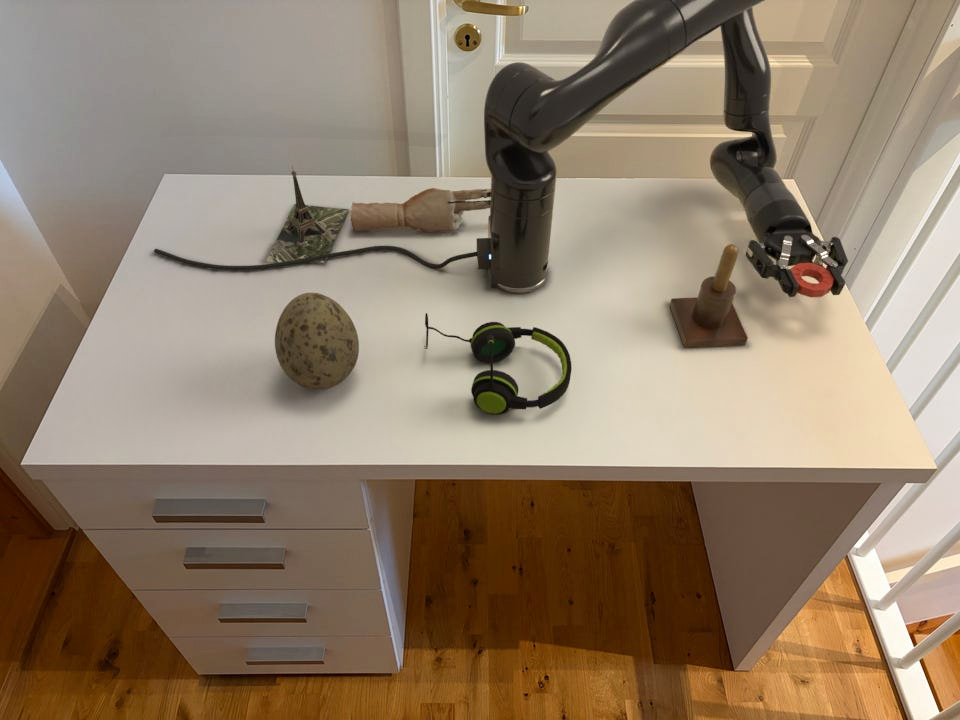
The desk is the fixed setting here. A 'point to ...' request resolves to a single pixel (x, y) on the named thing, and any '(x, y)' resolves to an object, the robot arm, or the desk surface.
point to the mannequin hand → (420, 211)
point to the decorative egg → (316, 342)
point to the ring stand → (711, 309)
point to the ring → (816, 273)
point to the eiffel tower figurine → (307, 231)
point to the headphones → (497, 387)
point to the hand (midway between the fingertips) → (816, 291)
